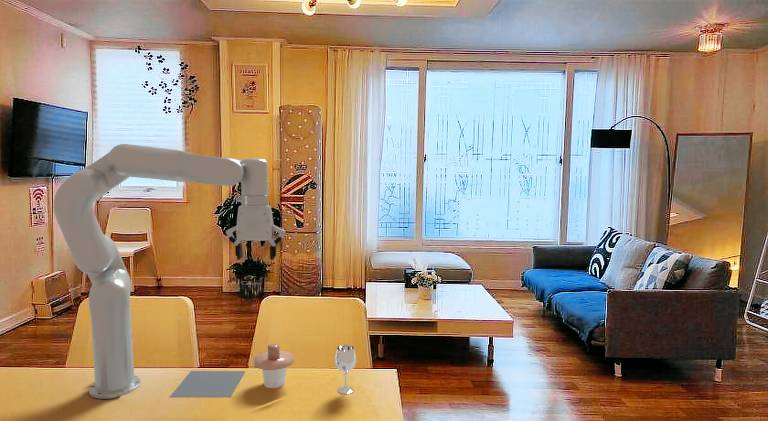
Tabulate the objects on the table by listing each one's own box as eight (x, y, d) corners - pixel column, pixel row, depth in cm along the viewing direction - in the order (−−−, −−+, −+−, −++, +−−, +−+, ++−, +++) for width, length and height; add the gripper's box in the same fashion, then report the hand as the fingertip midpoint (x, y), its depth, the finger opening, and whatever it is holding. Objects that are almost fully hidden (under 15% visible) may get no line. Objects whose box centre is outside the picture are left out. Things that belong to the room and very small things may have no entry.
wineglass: (352, 396, 140) (353, 353, 138) (332, 393, 141) (332, 351, 139) (358, 386, 145) (358, 345, 144) (338, 384, 146) (338, 343, 145)
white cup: (257, 385, 145) (256, 361, 144) (277, 377, 150) (277, 354, 149) (271, 393, 141) (271, 368, 140) (292, 385, 146) (291, 361, 145)
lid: (245, 361, 144) (245, 345, 144) (279, 350, 152) (278, 335, 152) (267, 373, 137) (267, 357, 136) (301, 361, 145) (301, 346, 144)
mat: (169, 399, 137) (169, 396, 137) (191, 372, 153) (191, 370, 153) (230, 399, 137) (230, 397, 137) (245, 372, 153) (245, 371, 153)
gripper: (221, 202, 148) (222, 261, 150) (282, 202, 148) (282, 262, 150) (229, 199, 155) (230, 255, 157) (287, 200, 155) (287, 256, 157)
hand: (256, 258), depth 154 cm, fingers open, 9 cm apart
